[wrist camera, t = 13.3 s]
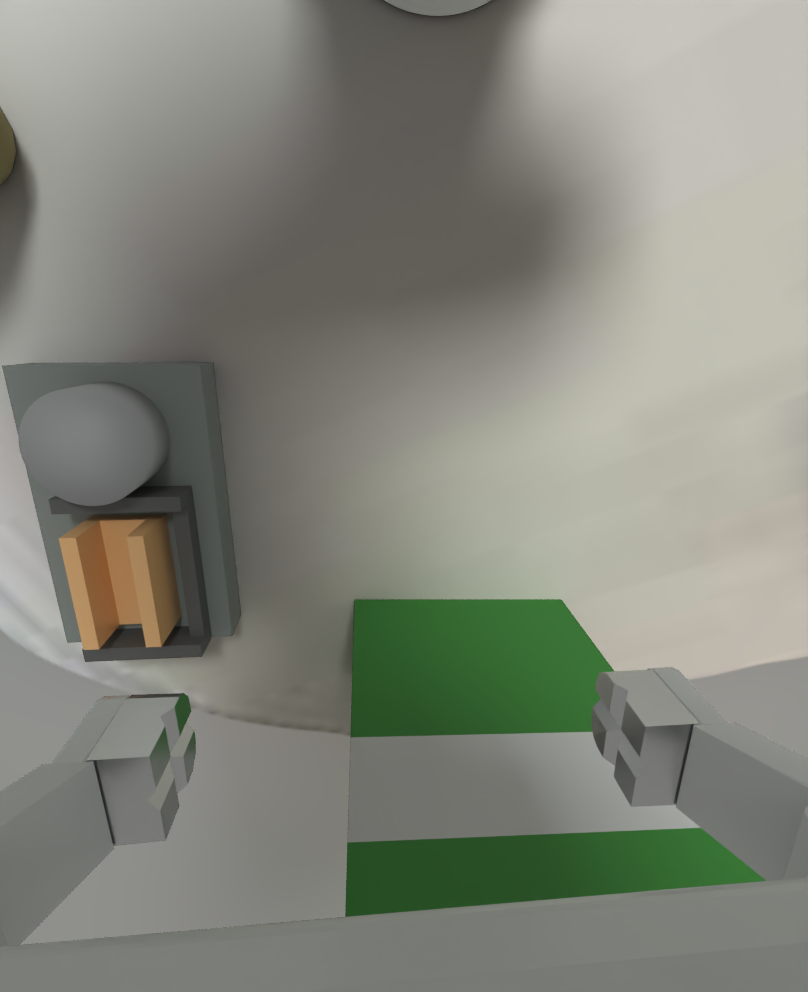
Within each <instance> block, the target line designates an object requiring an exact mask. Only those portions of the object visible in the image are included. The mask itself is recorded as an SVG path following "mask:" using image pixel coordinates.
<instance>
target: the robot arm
mask: <svg viewBox="0 0 808 992" xmlns="http://www.w3.org/2000/svg"><path fill="white" fill-rule="evenodd" d="M384 1H386V2H388V3H389V4H391V5H394V6H396V7H398V8H400V9H403V10H406V11H409V12H413V13H416V14H422V15H430V16H446V15H454V14H459V13H463V12H467V11H470V10H472V9H475V8H477V7H480V6H482V5H484V4H486V3H487V2H489V1H491V0H384ZM595 690H596V691H597V693H598V695H599V696H600V698H601V699H600V700H599V701H598V702H597V703H596V704H595V705H594V706H593V707H592V717H591V724H592V731H593V737H594V740H595V742H596V745H597V748H598V750H599V751H600V753H601V755H602V757H603V758H604V759H606V760H607V761H609V762H610V763H612V764H613V765H615V771H614V778H615V780H616V782H617V783H618V785H619V787H620V789H621V790H622V792H623V794H624V795H625V797H626V799H627V801H628V802H629V804H630V806H631V807H640V806H664V805H676V808H677V809H678V810H680V811H681V812H682V813H683V814H685V815H686V816H687V817H688V818H689V819H691V820H692V821H693V822H694V823H696V824H697V825H698V826H699V827H701V828H702V829H703V830H704V831H706V832H707V833H708V834H709V835H710V836H712V837H713V838H714V839H715V840H717V841H718V842H719V843H720V844H722V845H723V846H724V847H725V848H727V849H728V850H729V851H730V852H732V853H733V854H734V855H735V856H736V857H738V858H739V859H740V860H741V861H743V862H744V863H745V864H746V865H748V866H749V867H750V868H751V869H753V870H754V871H755V872H756V873H757V874H759V875H760V876H761V877H762V878H764V879H765V880H766V881H759V882H748V883H736V884H724V885H713V886H701V887H689V888H678V889H666V890H654V891H643V892H631V893H619V894H607V895H595V896H584V897H572V898H560V899H548V900H537V901H525V902H513V903H501V904H490V905H478V906H466V907H455V908H443V909H431V910H420V911H408V912H396V913H385V914H373V915H361V916H350V917H338V918H326V919H315V920H303V921H291V922H280V923H269V924H258V925H257V924H256V925H245V926H234V927H222V928H210V929H198V930H188V931H176V932H163V933H152V934H140V935H129V936H117V937H105V938H93V939H82V940H71V941H58V942H47V943H35V944H23V945H20V944H21V943H22V942H23V941H24V940H25V939H26V938H27V937H28V936H29V935H30V934H31V933H32V932H33V931H34V930H35V929H36V928H37V927H38V926H39V925H40V923H42V922H43V920H45V918H46V917H48V915H49V914H50V913H51V912H52V911H53V910H54V909H55V908H56V907H57V906H58V905H59V904H60V903H61V902H62V901H63V900H64V899H65V898H66V897H67V896H68V895H69V894H70V893H71V892H72V891H73V890H74V889H75V888H76V887H77V886H78V885H79V884H80V883H81V882H82V881H83V880H84V879H85V878H86V877H87V876H88V875H89V874H90V873H91V872H92V871H93V870H94V869H95V867H97V866H98V865H99V864H100V863H101V862H102V861H103V860H104V858H105V857H106V856H107V855H108V854H109V853H110V852H111V851H112V850H113V849H114V846H117V845H126V844H136V843H147V842H156V841H165V840H166V838H167V836H168V833H169V830H170V828H171V826H172V823H173V821H174V818H175V815H176V813H177V810H178V808H179V802H178V796H177V793H178V792H179V791H180V790H182V789H183V788H184V787H185V786H186V785H187V784H188V782H189V779H190V776H191V773H192V771H193V765H194V759H195V754H196V753H195V752H196V745H195V744H196V742H195V733H194V730H193V729H192V728H191V727H190V726H189V725H188V724H187V723H186V721H187V719H188V717H189V714H190V712H191V708H190V703H189V698H188V696H187V695H185V694H184V693H182V694H148V695H131V696H129V695H126V696H125V695H124V696H104V697H102V698H100V699H99V700H97V701H96V703H95V704H94V705H93V707H92V708H91V709H90V711H89V712H88V714H87V715H86V716H85V718H84V719H83V720H82V722H81V723H80V725H79V726H78V728H77V729H76V730H75V732H74V733H73V734H72V736H71V737H70V738H69V740H68V741H67V743H66V744H65V745H64V747H63V748H62V750H61V751H60V752H59V754H58V755H57V756H56V758H55V759H54V760H53V762H52V763H51V764H43V765H40V766H39V767H37V768H36V769H34V770H33V771H31V772H29V773H28V774H26V775H25V776H23V777H22V778H20V779H18V780H17V781H15V782H14V783H12V784H10V785H9V786H7V787H6V788H4V789H3V790H1V791H0V992H808V758H806V757H804V756H802V755H800V754H798V753H796V752H794V751H792V750H790V749H788V748H786V747H784V746H782V745H780V744H778V743H776V742H774V741H772V740H770V739H768V738H766V737H764V736H762V735H760V734H758V733H756V732H754V731H752V730H750V729H748V728H746V727H744V726H742V725H740V724H738V723H736V722H735V723H728V722H727V721H726V720H725V719H724V718H723V717H722V716H721V715H720V714H719V713H718V712H717V710H716V709H715V708H714V707H713V706H712V705H711V704H710V703H709V702H708V701H707V700H706V699H705V698H704V697H703V696H702V695H701V694H700V692H699V691H698V690H697V689H696V688H695V687H694V686H693V685H692V684H691V683H690V682H689V681H688V680H687V679H686V678H685V676H684V675H683V674H682V673H681V672H680V671H679V670H677V669H675V668H673V667H664V668H652V669H647V670H632V671H614V672H600V673H599V675H598V677H597V680H596V686H595Z"/></svg>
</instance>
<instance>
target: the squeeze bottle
mask: <svg viewBox="0 0 808 992" xmlns="http://www.w3.org/2000/svg"><path fill="white" fill-rule="evenodd" d="M15 155H16V148H15V142H14V136H13V131H12V128H11V126H10V124H9V122H8V120H7V119H6V117H5V115H4V113H3V111H2V109H1V107H0V186H1V185H2V183H3V182H4V181H5V180H6V178H7V177H8V176H9V175H10V173H11V172H12V169H13V164H14V160H15Z"/></svg>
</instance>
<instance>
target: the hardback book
mask: <svg viewBox="0 0 808 992" xmlns="http://www.w3.org/2000/svg"><path fill="white" fill-rule="evenodd" d="M600 672H614V670H613V669H612V667H611V666H610V665H609V663H608V662H607V661H606V659H605V658H604V657H603V655H602V654H601V653H600V651H599V650H598V649H597V647H596V646H595V644H594V643H593V642H592V640H591V639H590V638H589V636H588V635H587V634H586V632H585V631H584V630H583V628H582V627H581V626H580V624H579V623H578V621H577V620H576V619H575V617H574V616H573V615H572V613H571V612H570V611H569V609H568V608H567V607H566V605H565V604H564V603H563V601H562V600H355V601H354V636H353V671H352V706H351V741H350V775H349V776H350V777H349V779H350V780H349V811H348V812H349V813H348V845H347V880H346V915H345V917H350V916H361V915H373V914H385V913H396V912H408V911H420V910H431V909H443V908H455V907H466V906H478V905H490V904H501V903H513V902H525V901H537V900H548V899H560V898H572V897H584V896H595V895H607V894H619V893H631V892H643V891H654V890H666V889H678V888H689V887H701V886H713V885H724V884H736V883H748V882H759V881H766V880H765V879H764V878H762V877H761V876H760V875H759V874H757V873H756V872H755V871H754V870H753V869H751V868H750V867H749V866H748V865H746V864H745V863H744V862H743V861H741V860H740V859H739V858H738V857H736V856H735V855H734V854H733V853H732V852H730V851H729V850H728V849H727V848H725V847H724V846H723V845H722V844H720V843H719V842H718V841H717V840H715V839H714V838H713V837H712V836H710V835H709V834H708V833H707V832H706V831H704V830H703V829H702V828H701V827H699V826H698V825H697V824H696V823H694V822H693V821H692V820H691V819H689V818H688V817H687V816H686V815H685V814H683V813H682V812H681V811H680V810H678V809H677V808H676V805H664V806H640V807H631V806H630V804H629V802H628V801H627V799H626V797H625V795H624V794H623V792H622V790H621V789H620V787H619V785H618V783H617V782H616V780H615V778H614V771H615V765H613V764H612V763H610V762H609V761H607V760H606V759H604V758H603V757H602V755H601V753H600V751H599V750H598V748H597V745H596V742H595V740H594V737H593V731H592V724H591V717H592V707H593V706H594V705H595V704H596V703H597V702H598V701H599V700H600V699H601V698H600V696H599V695H598V693H597V691H596V690H595V686H596V680H597V677H598V675H599V673H600Z"/></svg>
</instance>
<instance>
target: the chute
mask: <svg viewBox="0 0 808 992" xmlns="http://www.w3.org/2000/svg"><path fill="white" fill-rule="evenodd" d="M59 542H60V547H61V551H62V556H63V560H64V565H65V569H66V574H67V578H68V583H69V587H70V592H71V596H72V601H73V605H74V609H75V614H76V618H77V623H78V627H79V632H80V636H81V641H82V645H83V650H96V649H100V648H101V647H102V645H103V644H104V643H105V642H106V641H107V639H108V638H109V637H110V636H111V635H112V633H113V632H114V631H115V630H116V629H117V627H118V626H119V625H122V624H142V628H143V633H144V639H145V644H146V647H162V645H163V644H164V642H165V640H166V639H167V637H168V636H169V634H170V633H171V631H172V629H173V628H174V626H175V625H176V623H177V622H178V620H179V618H180V617H181V615H182V614H181V608H180V601H179V594H178V588H177V581H176V575H175V568H174V561H173V555H172V548H171V541H170V535H169V528H168V521H167V515H166V514H153V515H109V516H91V517H89V518H88V519H86V520H85V521H83V522H82V523H80V524H79V525H77V526H76V527H75V528H73V529H72V530H70V531H69V532H67V533H66V534H64V535H63V536H61V537H60V538H59Z"/></svg>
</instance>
